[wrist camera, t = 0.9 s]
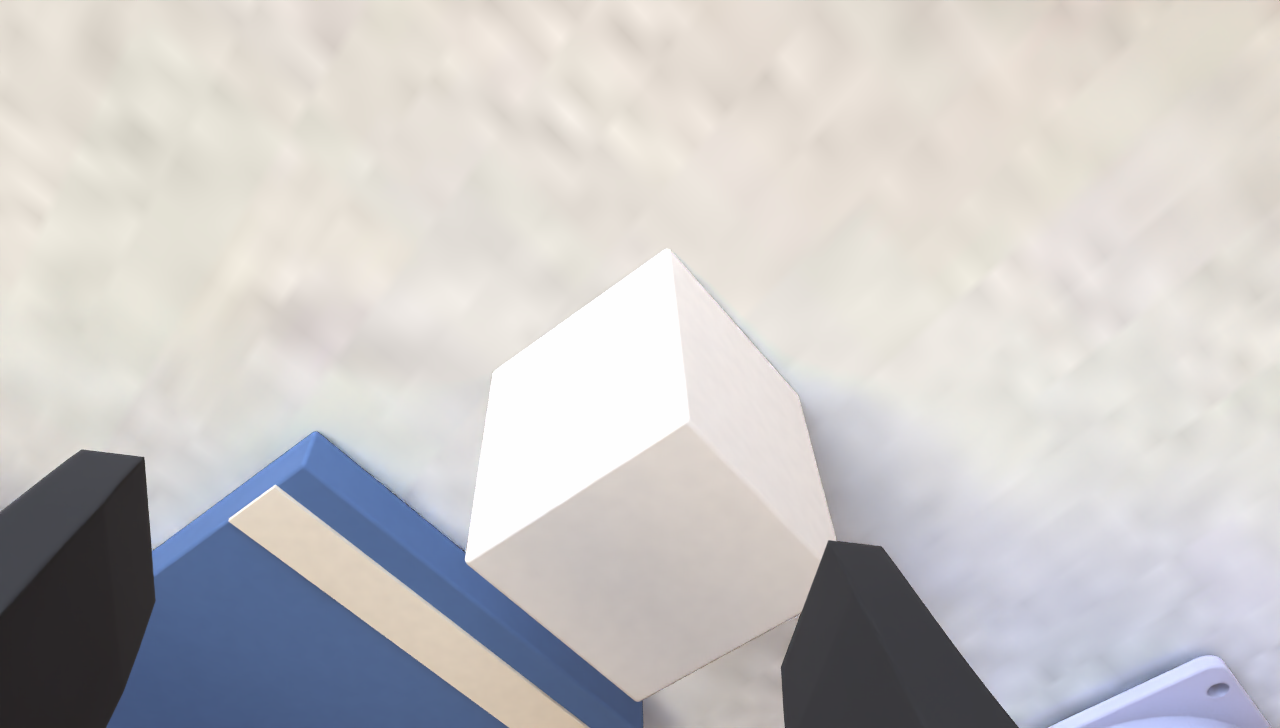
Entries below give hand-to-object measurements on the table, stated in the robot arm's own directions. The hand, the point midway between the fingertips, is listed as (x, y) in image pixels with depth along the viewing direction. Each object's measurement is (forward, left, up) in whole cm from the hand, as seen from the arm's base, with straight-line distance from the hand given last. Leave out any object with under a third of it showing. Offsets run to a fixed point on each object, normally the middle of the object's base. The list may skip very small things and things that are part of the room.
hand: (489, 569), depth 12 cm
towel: (-7, +14, -10) cm, 18 cm away
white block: (-5, +1, -10) cm, 11 cm away
